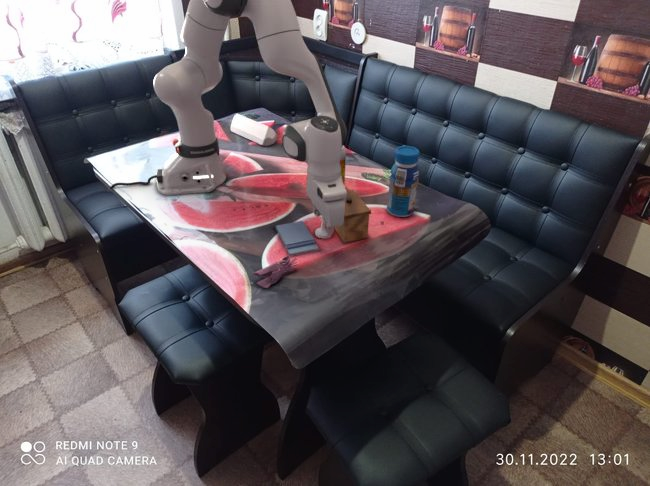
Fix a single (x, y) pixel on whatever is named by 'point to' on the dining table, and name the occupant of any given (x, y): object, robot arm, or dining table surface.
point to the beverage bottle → (403, 182)
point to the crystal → (253, 130)
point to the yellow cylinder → (343, 163)
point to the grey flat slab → (296, 238)
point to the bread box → (354, 218)
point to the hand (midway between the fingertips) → (323, 223)
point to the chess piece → (322, 230)
